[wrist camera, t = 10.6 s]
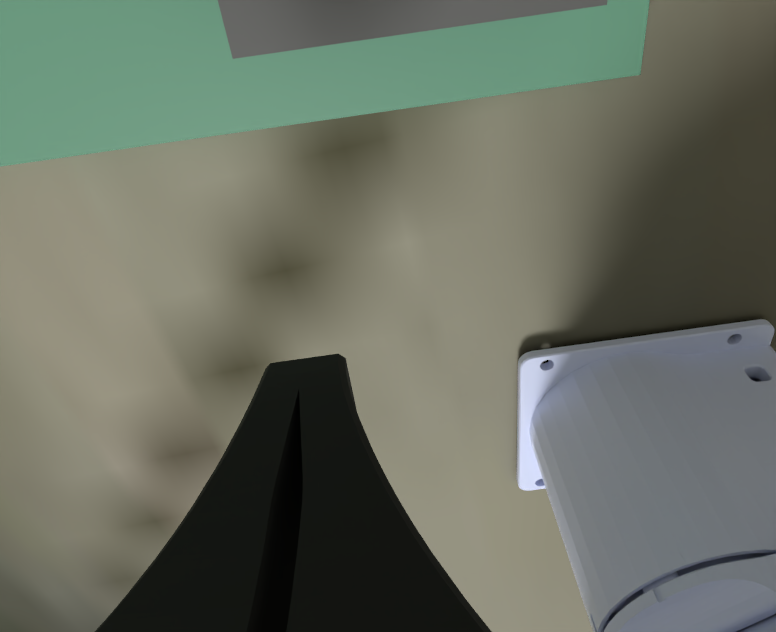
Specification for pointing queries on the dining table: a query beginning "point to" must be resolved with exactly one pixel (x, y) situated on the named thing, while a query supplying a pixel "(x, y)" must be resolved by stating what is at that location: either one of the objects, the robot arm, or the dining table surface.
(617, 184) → the dining table surface
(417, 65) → the board
